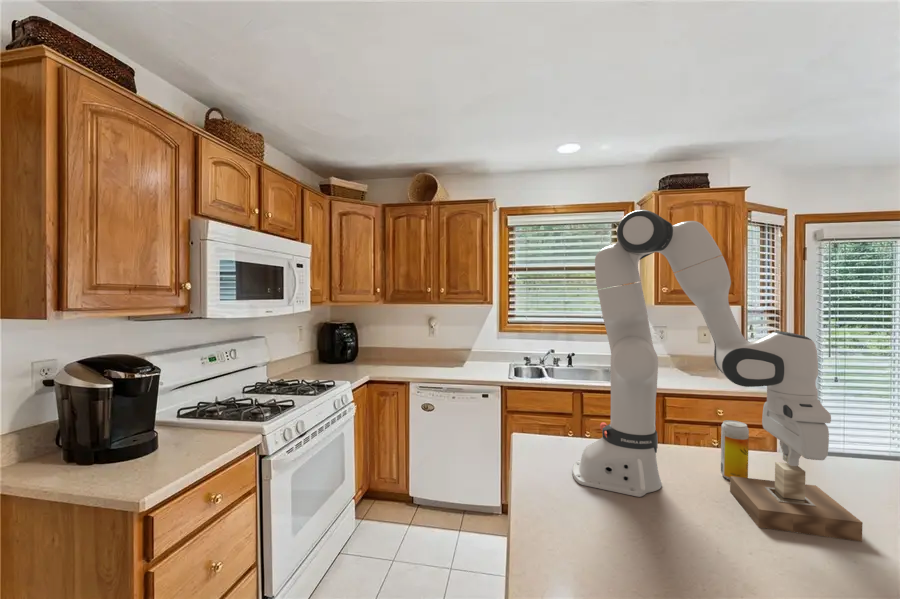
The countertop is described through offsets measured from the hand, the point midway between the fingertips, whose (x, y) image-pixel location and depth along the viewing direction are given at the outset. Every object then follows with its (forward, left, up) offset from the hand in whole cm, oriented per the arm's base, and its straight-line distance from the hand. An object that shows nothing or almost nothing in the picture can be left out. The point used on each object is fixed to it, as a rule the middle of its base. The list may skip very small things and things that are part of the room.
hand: (790, 463), depth 92 cm
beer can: (-5, +17, -12) cm, 21 cm away
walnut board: (0, 0, -12) cm, 12 cm away
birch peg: (0, 0, -12) cm, 12 cm away
